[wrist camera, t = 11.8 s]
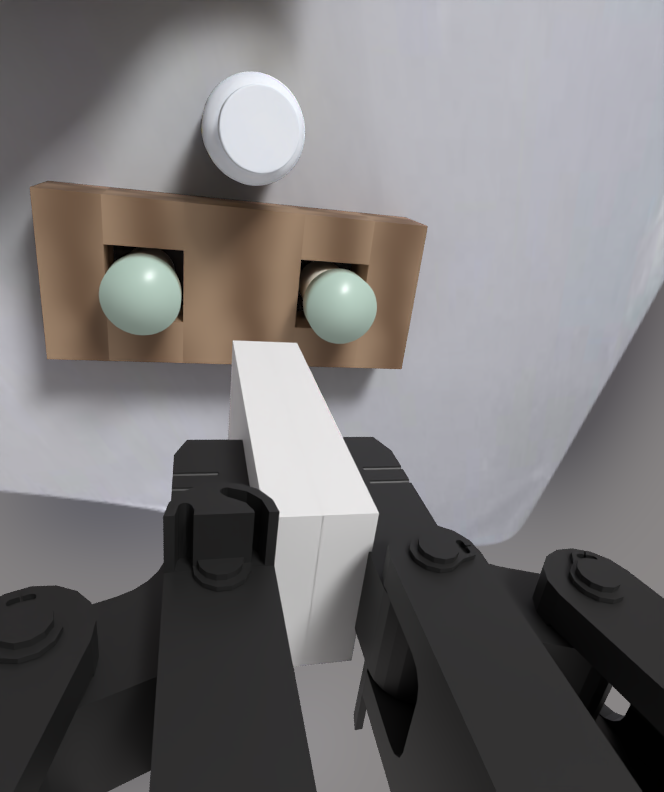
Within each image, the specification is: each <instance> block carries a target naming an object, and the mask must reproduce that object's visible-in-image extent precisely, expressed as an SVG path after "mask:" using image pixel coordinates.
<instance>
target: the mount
mask: <svg viewBox="0 0 664 792" xmlns="http://www.w3.org/2000/svg"><path fill="white" fill-rule="evenodd" d="M30 195H31V205H32V215H33V225H34V235H35V244H36V254H37V264H38V274H39V284H40V294H41V304H42V314H43V323H44V333H45V343H46V353H47V359H62V360H98V361H133V362H169V363H204V364H232V346H233V340H235V341H261V342H286V343H297V344H298V346H299V348H300V350H301V352H302V354H303V357H304V359H305V361H306V363H307V365H308V366H311V367H347V368H382V369H402V363H403V358H404V352H405V347H406V341H407V336H408V331H409V325H410V320H411V314H412V309H413V303H414V298H415V293H416V287H417V282H418V276H419V271H420V265H421V260H422V255H423V249H424V244H425V238H426V233H427V227H428V226H426V225H423V224H421V223H418V222H416V221H413V220H411V219H408V218H406V217H396V216H386V215H377V214H367V213H357V212H347V211H337V210H328V209H318V208H308V207H298V206H289V205H279V204H269V203H259V202H249V201H240V200H230V199H220V198H210V197H200V196H191V195H181V194H171V193H161V192H152V191H142V190H132V189H122V188H112V187H103V186H93V185H83V184H73V183H63V182H54V181H46V182H43V183H40V184H37V185H34V186H31V187H30ZM113 245H120V246H133V247H146V248H159V249H172V250H184V287H183V304H181V306H180V310H179V313H178V315H177V317H176V319H175V320H174V322H173V323H172V324H171V325H170V326H169V327H167V328H166V329H165V330H163V331H161V332H158V333H156V334H152V335H135V334H131V333H128V332H125V331H123V330H121V329H120V328H118V327H116V326H115V325H114V324H113V323H112V322H111V321H110V320H109V319H108V318H107V317H106V315H105V313H104V312H103V310H102V307H101V304H100V300H99V288H100V284H101V281H102V279H103V277H104V275H105V274H106V272H107V271H108V269H109V268H110V266H111V265H112V264H113V263H114V249H113ZM301 260H313V261H326V262H339V263H351V269H350V271H352V272H354V273H355V274H357V275H358V276H359V277H360V278H362V279H363V280H364V281H365V282H366V283H367V284H368V285H369V286H370V287H371V289H372V290H373V292H374V294H375V297H376V302H377V312H376V316H375V319H374V322H373V324H372V325H371V327H370V328H369V330H368V331H367V332H366V333H365V334H364V335H363V336H361V337H360V338H358V339H357V340H355V341H352V342H349V343H344V344H336V343H331V342H328V341H325V340H324V339H322V338H320V337H319V336H318V335H317V334H316V333H315V332H314V330H313V329H312V327H311V326H310V324H309V322H308V320H307V319H306V317H305V314H304V311H300V310H296V309H297V299H298V288H299V278H300V267H301Z"/></svg>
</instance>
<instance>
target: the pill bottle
mask: <svg viewBox="0 0 664 792" xmlns="http://www.w3.org/2000/svg"><path fill="white" fill-rule="evenodd" d="M201 133H202V137H203V142H204V145H205V148H206V150H207V152H208V154H209V156H210V157H211V159H212V161H213V162H214V163H215V165H216V166H217V167H218V168H219V169H220V170H221V171H222V172H223V173H224V174H225V175H227V176H228V177H230V178H231V179H233V180H235V181H237V182H240V183H243V184H246V185H253V186H261V185H267V184H271V183H273V182H276V181H278V180H280V179H281V178H283V177H284V176H285V175H287V174H288V173H289V172H290V171H291V170H292V169H293V167H294V166H295V165H296V163H297V162H298V160H299V158H300V156H301V153H302V150H303V146H304V141H305V124H304V118H303V114H302V111H301V108H300V106H299V104H298V102H297V100H296V98H295V97H294V95H293V94H292V93H291V91H290V90H289V89H288V88H287V87H286V86H285V85H284V84H283V83H281V82H280V81H279V80H277V79H275V78H274V77H272V76H270V75H267V74H264V73H260V72H251V71H249V72H241V73H237V74H234V75H232V76H230V77H228V78H226V79H225V80H223V81H222V82H221V83H219V84H218V85H217V86H216V87H215V89H214V90H213V91H212V93H211V94H210V96H209V97H208V99H207V102H206V104H205V107H204V111H203V115H202V122H201Z"/></svg>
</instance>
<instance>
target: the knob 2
mask: <svg viewBox="0 0 664 792" xmlns="http://www.w3.org/2000/svg"><path fill="white" fill-rule="evenodd" d="M298 290H299V293H300V295H301V297H302V298H303V310H304V314H305V317H306V319H307V320H308V322H309V324H310V326H311V327H312V329H313V330H314V332H315V333H316V334H317V335H318V336H319V337H320V338H322V339H324V340H325V341H328V342H331V343H336V344H344V343H349V342H352V341H355V340H357V339H358V338H360V337H361V336H363V335H364V334H365V333H366V332H367V331H368V330H369V328H370V327H371V325H372V324H373V322H374V319H375V316H376V312H377V302H376V297H375V294H374V292H373V290H372V289H371V287H370V286H369V285H368V284H367V283H366V282H365V281H364V280H363V279H362V278H360V277H359V276H358V275H357V274H355V273H354V272H352V271H350V270H346V269H339V268H338V267H337V266H336V265H335V264H333V263H332V262H326V261H313V262H311V263H309V264H308V265H306V266H305V267H304V268H303V270H302V271H301V273H300V278H299V288H298Z"/></svg>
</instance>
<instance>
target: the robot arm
mask: <svg viewBox="0 0 664 792" xmlns="http://www.w3.org/2000/svg"><path fill="white" fill-rule="evenodd" d="M163 523H164V524H163V525H164V526H163V527H164V528H163V530H164V531H163V532H164V563H163V565H162V566H161V568H160V569H159V571H158V572H157V573H156V574H155V575H154V576H153V577H152V578H151V579H150V580H148V581H147V582H145V583H144V584H142V585H141V586H139V587H138V588H136V589H134V590H132V591H130V592H127V593H125V594H122V595H120V596H117V597H114V598H111V599H108V600H105V601H102V602H98V603H95V604H91V602H90V601H88V600H87V599H86V598H85V597H84V596H82V595H81V594H80V593H79V592H78V591H75V590H71V589H67V588H64V587H60V586H32V587H28V588H24V589H21V590H17V591H14V592H10V593H7V594H4V595H2V596H0V792H108V791H110V790H112V789H114V788H116V787H118V786H119V785H122V784H124V783H126V782H128V781H130V780H132V779H134V778H136V777H138V776H140V775H142V774H144V773H146V772H148V771H150V770H151V775H150V790H149V792H317V791H316V786H315V780H314V775H313V770H312V764H311V759H310V754H309V748H308V743H307V738H306V732H305V727H304V722H303V716H302V712H301V706H300V700H299V695H298V690H297V684H296V679H295V673H294V668H293V667H297V666H306V665H314V664H323V663H333V662H342V661H350V660H351V659H352V654H353V649H354V643H355V638H356V634H357V637H358V640H359V643H360V646H361V649H362V652H363V655H364V658H365V662H364V667H363V671H362V676H361V681H360V686H359V691H358V696H357V702H356V706H355V711H354V723H355V724H354V726H355V730H358V729H362V727H363V722H364V718H365V712H366V709H367V713H368V716H369V719H370V723H371V726H372V730H373V733H374V736H375V740H376V743H377V747H378V750H379V753H380V757H381V760H382V763H383V767H384V770H385V774H386V777H387V781H388V784H389V787H390V791H391V792H664V598H662V597H661V596H660V595H658V594H657V593H656V592H655V591H653V590H652V589H651V588H649V587H648V586H647V585H645V584H644V583H643V582H641V581H640V580H639V579H638V578H636V577H635V576H634V575H632V574H631V573H630V572H629V571H627V570H626V569H624V568H622V567H621V566H619V565H618V564H616V563H614V562H613V561H611V560H609V559H607V558H605V557H602V556H600V555H597V554H595V553H592V552H589V551H583V550H577V549H562V550H556V551H554V552H553V553H551V554H549V555H548V556H547V557H546V560H545V562H544V565H543V568H542V571H541V573H540V574H538V573H532V572H526V571H521V570H515V569H510V568H504V567H499V566H495V565H491V564H488V562H487V561H486V559H485V558H484V556H483V555H482V554H481V552H480V551H479V550H478V549H477V548H476V547H475V546H474V545H473V544H472V542H471V541H470V540H468V539H466V538H465V537H463V536H461V535H460V534H458V533H456V532H455V531H452V530H449V529H446V528H443V527H440V526H437V524H436V522H435V521H434V519H433V517H432V516H431V514H430V513H429V511H428V509H427V508H426V506H425V504H424V503H423V501H422V500H421V498H420V496H419V495H418V493H417V491H416V490H415V488H414V487H413V485H412V483H409V478H408V477H407V475H406V474H405V472H404V470H403V469H401V465H400V464H399V462H398V461H397V459H396V457H395V456H394V454H393V452H392V451H391V450H390V449H389V448H387V447H386V446H385V445H383V444H382V443H380V442H379V441H378V440H376V439H375V438H374V437H342V435H341V433H340V431H339V429H338V427H337V425H336V423H335V421H334V419H333V417H332V415H331V413H330V410H329V408H328V406H327V404H326V402H325V400H324V398H323V396H322V394H321V392H320V390H319V388H318V386H317V383H316V381H315V379H314V377H313V375H312V373H311V371H310V369H309V367H308V365H307V363H306V361H305V359H304V357H303V354H302V352H301V350H300V348H299V346H298V344H297V343H286V342H261V341H235V340H233V346H232V368H231V389H230V410H229V432H228V440H187V441H186V442H185V443H184V444H183V445H182V446H181V448H180V449H179V450H178V451H177V452H176V453H175V455H174V464H173V480H172V496H171V501H170V502H169V504H168V506H167V509H166V511H165V513H164V516H163ZM612 686H613V687H614V688H615V689H616V690H617V691H618V692H619V693H620V694H622V696H623V697H624V698H625V699H626V700H627V701H628V702H629V703H630V704H631V705H630V707H629V709H628V711H627V713H626V715H625V716H622V715H620V714H617V713H615V712H613V711H612V710H611V709H610V708H608V707H607V706H606V705H605V704H604V702H605V700H606V698H607V696H608V694H609V692H610V690H611V688H612Z"/></svg>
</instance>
